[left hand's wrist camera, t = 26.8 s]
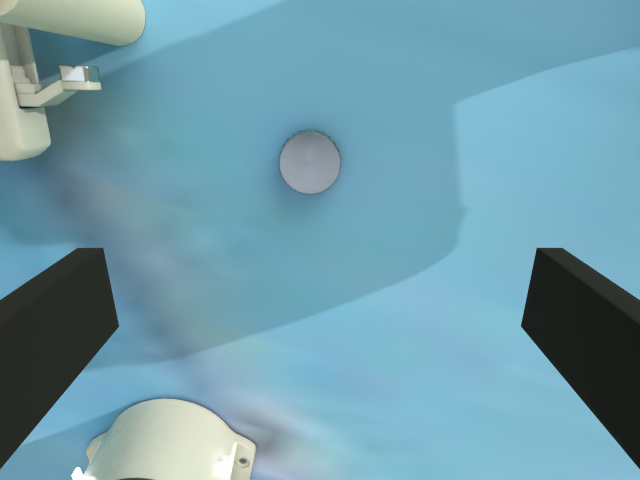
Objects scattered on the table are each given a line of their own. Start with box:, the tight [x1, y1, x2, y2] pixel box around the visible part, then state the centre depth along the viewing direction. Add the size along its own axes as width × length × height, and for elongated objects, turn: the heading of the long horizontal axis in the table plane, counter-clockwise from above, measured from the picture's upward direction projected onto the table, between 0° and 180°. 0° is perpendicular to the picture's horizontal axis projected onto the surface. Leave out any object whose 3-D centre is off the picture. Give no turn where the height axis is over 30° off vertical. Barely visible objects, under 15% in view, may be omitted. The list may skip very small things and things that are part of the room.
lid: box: [279, 129, 341, 194], centre depth 34 cm, size 5×5×2 cm
